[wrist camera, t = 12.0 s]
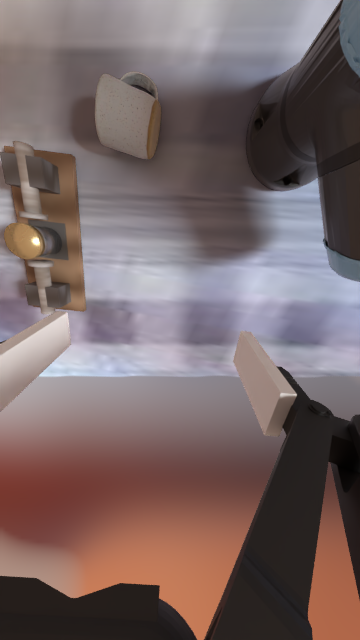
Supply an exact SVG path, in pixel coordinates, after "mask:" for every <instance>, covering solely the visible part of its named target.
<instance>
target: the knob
mask: <svg viewBox="0 0 360 640" xmlns="http://www.w3.org/2000/svg"><path fill="white" fill-rule="evenodd" d="M4 239H5V242H6V245H7V247H8V248H9V250H10V251H11V252H12V253H13V254H14V255H16V256H17V257H20V258H22V259H33V258H38V257H40V256H42V255H50V254H56V253H58V252H59V251H60V250H61V247H62V240H61V237H60V236H59V234H58V233H57V232H56V231H55V230H53V229H52V228H49V227H38V226H32V225H30V224H26V223H12V224H10V225H8V226H7V228H6V229H5V232H4Z"/></svg>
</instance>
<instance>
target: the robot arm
mask: <svg viewBox="0 0 360 640" xmlns="http://www.w3.org/2000/svg"><path fill="white" fill-rule="evenodd" d="M246 151H247V158H248V162H249V165H250V168H251V170H252V172H253V173H254V175H255V177H256V178H257V179H258V180H259V181H260V182H261V183H262V184H263V185H265V186H266V187H268V188H271V189H273V190H278V191H289V190H293V189H297V188H299V187H301V186H304V185H306V184H308V183H310V182H312V181H313V180H315V179H316V178H318V185H319V193H320V202H321V211H322V220H323V229H324V237H325V238H324V239H323V242H324V246H325V248H326V249H327V255H328V260H329V265H330V267H331V268H332V270H334V271H335V272H336V273H337V274H338V275H340V276H342V277H344V278H347V279H350V280H354V281H358V282H360V0H340V2H339V3H338V5H337V6H336V8H335V9H334V11H333V12H332V14H331V15H330V17H329V18H328V20H327V22H326V23H325V25H324V26H323V28H322V29H321V31H320V32H319V34H318V35H317V37H316V38H315V40H314V41H313V43H312V44H311V46H310V47H309V49H308V50H307V52H306V53H305V55H304V56H303V58H302V59H301V61H300V62H299V63H298V64H296V65H295V66H293V67H292V68H290V69H289V70H287V71H286V72H284V73H283V74H282V75H280V76H279V77H278V78H277V79H276V80H275V81H274V82H273V83H272V84H271V85H270V86H269V88H268V89H267V90H266V92H265V93H264V95H263V96H262V98H261V100H260V101H259V103H258V105H257V107H256V108H255V110H254V112H253V115H252V117H251V120H250V123H249V127H248V131H247V138H246ZM330 172H331V173H330ZM70 345H71V339H70V330H69V321H68V312H62V311H56V312H55V313H53V314H51V315H49V316H48V317H46V318H44V319H43V320H41V321H39V322H37V323H36V324H34V325H32V326H30V327H29V328H27V329H25V330H24V331H22V332H20V333H18V334H17V335H15V336H13V337H12V338H10V339H8V340H5V341H3V342H0V412H1V411H2V410H3V409H4V408H5V407H6V406H7V405H8V404H9V403H10V402H11V401H12V400H14V399H15V397H16V396H18V395H19V394H20V393H21V392H22V391H23V390H24V389H25V388H26V387H27V386H28V385H29V384H30V383H31V382H32V381H33V380H34V379H35V378H37V377H38V376H39V375H40V374H41V373H42V372H43V371H44V370H45V369H46V368H47V367H48V366H49V365H50V364H51V363H52V362H53V361H54V360H55V359H56V358H57V357H58V356H60V355H61V354H62V353H63V352H64V351H65V350H66V349H67V348H68V347H69V346H70ZM233 362H234V364H235V367H236V369H237V371H238V374H239V376H240V378H241V381H242V383H243V386H244V388H245V390H246V392H247V395H248V397H249V400H250V402H251V404H252V407H253V409H254V412H255V414H256V416H257V419H258V421H259V423H260V426H261V428H262V430H263V433H264V435H270V436H279V435H280V433H281V431H282V428H283V429H284V431H285V433H286V435H287V436H286V438H285V440H284V443H283V445H282V447H281V449H280V453H279V455H278V458H277V460H276V463H275V465H274V468H273V470H272V473H271V475H270V478H269V480H268V483H267V485H266V488H265V491H264V493H263V495H262V498H261V500H260V503H259V505H258V508H257V510H256V513H255V515H254V518H253V520H252V523H251V526H250V528H249V530H248V533H247V535H246V538H245V541H244V543H243V545H242V548H241V550H240V553H239V556H238V558H237V560H236V563H235V565H234V568H233V571H232V573H231V575H230V578H229V580H228V583H227V585H226V588H225V590H224V593H223V595H222V598H221V600H220V603H219V605H218V607H217V610H216V612H215V614H214V617H213V619H212V621H211V624H210V626H209V629H208V631H207V634H206V636H205V639H204V640H313V638H312V628H311V625H310V623H309V621H308V605H309V597H310V590H311V583H312V575H313V568H314V561H315V554H316V547H317V540H318V532H319V525H320V518H321V511H322V504H323V496H324V489H325V482H326V474H327V468H328V462H331V467H332V471H333V476H334V481H335V486H336V490H337V495H338V499H339V505H340V509H341V514H342V519H343V523H344V528H345V533H346V537H347V542H348V547H349V552H350V556H351V561H352V565H353V570H354V575H355V580H356V585H357V589H358V594H359V599H360V415H355V416H353V417H352V419H351V421H347V420H344V419H341V418H338V417H335V416H334V415H333V414H332V412H331V411H330V410H329V409H328V408H327V407H325V406H324V405H322V404H320V403H319V402H316V401H314V400H310V398H309V397H308V396H307V395H306V393H305V392H304V391H303V390H302V388H301V387H300V386H299V385H298V384H297V382H296V381H295V380H294V379H293V377H292V376H291V375H290V373H289V372H287V371H286V370H285V369H283V368H282V367H277V366H276V365H275V364H274V363H273V361H272V360H271V359H270V357H269V356H268V355H267V353H266V352H265V351H264V349H263V348H262V347H261V345H260V344H259V343H258V341H257V340H256V338H255V337H254V336H253V334H252V333H251V332H246V331H241V333H240V336H239V340H238V344H237V348H236V352H235V356H234V360H233ZM159 587H160V586H158V585H142V584H141V585H140V584H124V583H120V584H117V585H114V586H111V587H108V588H105V589H102V590H99V591H96V592H93V593H90V594H88V595H85V596H81V597H79V598H70V597H68V596H66V595H65V594H63V593H61V592H59V591H58V590H56V589H54V588H52V587H51V586H49V585H47V584H46V583H44V582H42V581H40V580H39V579H37V578H24V577H7V576H0V640H197V639H196V637H195V635H194V633H193V631H192V630H191V628H190V627H189V625H188V624H187V623H186V621H185V620H184V619H183V617H182V616H181V615H180V614H179V613H178V612H177V611H176V610H175V609H174V608H173V607H171V606H170V605H169V604H168V603H166V602H164V601H163V600H161V599H159Z"/></svg>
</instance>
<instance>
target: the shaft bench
mask: <svg viewBox="0 0 360 640" xmlns="http://www.w3.org/2000/svg"><path fill="white" fill-rule="evenodd" d="M13 144H14V147H10V146H4V149H5V153H4V152H0V156H1V161H2V167H3V172H4V177H5V183H6V184H9V185H11V188H12V194H13V199H14V205H15V210H16V216H17V221H18V223H26V224H30V225H32V226H38V227H49V228H52V229H53V230H55V231H56V232H57V233H58V234H59V236H60V237H61V240H62V247H61V250H60V251H59V252H58V253H56V254H50V255H42V256H40V257H38V258H33V259H24V260H25V266H26V272H27V277H28V283H29V284H25V289H26V295H27V300H28V305H33V306H35V307H40V308H41V313H42V314H52V313H55V309H64V310H74V311H83V312H84V311H85V310H86V300H85V287H84V273H83V259H82V245H81V232H80V218H79V204H78V190H77V177H76V163H75V157H74V156H73V155H71V154H63V153H56V152H48V151H41V150H33V147H32V146H31V145H29V144H26V143H23V142H19V141H13Z"/></svg>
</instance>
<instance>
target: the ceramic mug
mask: <svg viewBox="0 0 360 640" xmlns="http://www.w3.org/2000/svg"><path fill="white" fill-rule="evenodd" d="M131 85H139V86H141V87H143V88H145V89H146V90H148V91H149V92H151V93H152V94H153V96H154V97H153V96H151V95H150V94H148V93H146V92H144V91H141V90H139V89H136V88H134V87H132V86H131ZM95 124H96V129H97V135H98V137H99V140H100V142H101V144H102V145H104V146H106V147H109V148H112V149H115V150H118V151H121V152H123V153H127V154H130V155H133V156H135V157H138V158H141V159H151V158H152V157H153V156H154V154H155V151H156V147H157V143H158V138H159V132H160V124H161V106H160V104H159V102H158V91H157V87H156V85H155V83H154V82H153V81H152V80H151V79H150V78H149V77H148V76H146V75H145V74H143V73H140V72H129V73H127V74H125V75H124V76H123V77H122V78H121V79H120V80H119V79H117V78H115V77H112V76H111V75H108V74H103V75H102V76H101V77H100V80H99V82H98V86H97V91H96V98H95Z"/></svg>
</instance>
